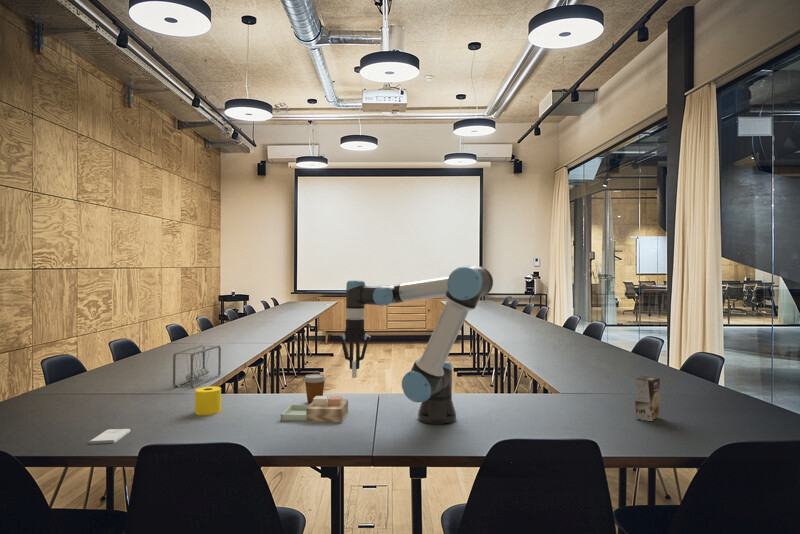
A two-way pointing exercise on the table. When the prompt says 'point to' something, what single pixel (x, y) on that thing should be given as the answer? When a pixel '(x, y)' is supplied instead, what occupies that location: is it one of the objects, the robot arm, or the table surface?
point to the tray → (294, 413)
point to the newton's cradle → (199, 372)
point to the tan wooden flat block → (327, 412)
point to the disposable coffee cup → (314, 386)
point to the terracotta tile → (335, 400)
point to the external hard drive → (110, 436)
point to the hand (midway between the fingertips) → (354, 377)
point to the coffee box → (647, 398)
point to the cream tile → (320, 400)
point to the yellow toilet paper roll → (207, 400)
